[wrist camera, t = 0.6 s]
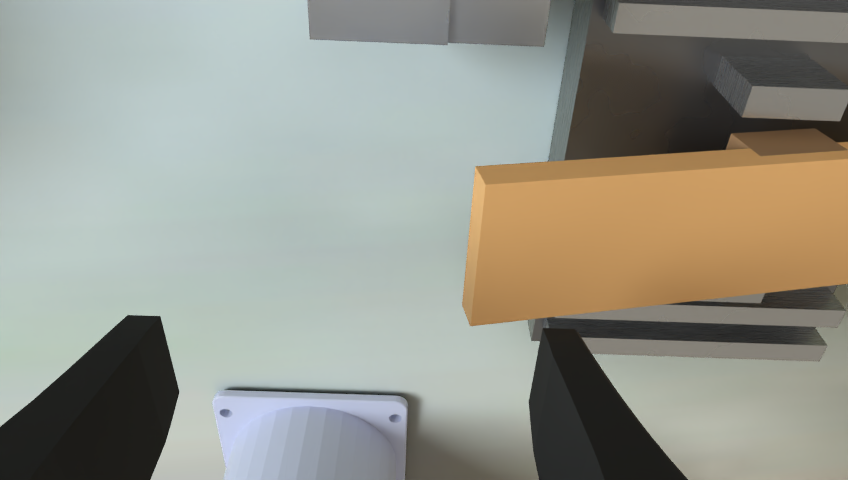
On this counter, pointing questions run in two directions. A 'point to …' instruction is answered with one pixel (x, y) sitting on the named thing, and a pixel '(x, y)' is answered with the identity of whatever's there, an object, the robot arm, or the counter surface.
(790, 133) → the orange rectangular bar
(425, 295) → the counter surface
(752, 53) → the heatsink block
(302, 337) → the counter surface
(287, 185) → the counter surface
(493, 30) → the block
